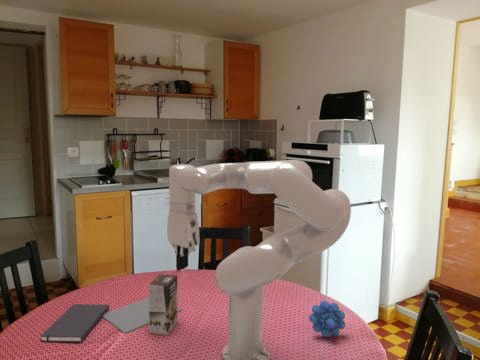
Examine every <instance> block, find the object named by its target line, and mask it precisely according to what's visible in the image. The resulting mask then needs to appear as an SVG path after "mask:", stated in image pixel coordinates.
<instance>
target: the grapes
mask: <svg viewBox="0 0 480 360" xmlns="http://www.w3.org/2000/svg"><path fill="white" fill-rule="evenodd" d="M311 311H312V313H311V314H310V315H308V319H309V322H311V323H312V329H313V331H314V332H316V333H321V336H322V337H324V338H329V337H330V336H331V335H332V336H334V337H338V336H339V335H340V330H343V329H345V328H346V323H345V320H344V319H345V318H346V314H345V311H344V310H340V307H339V305H338V304H337V303H336V302H331V303H329V301H327V300H321V301H320V303H319V305H318V304H313V306H312V307H311Z"/></svg>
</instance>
